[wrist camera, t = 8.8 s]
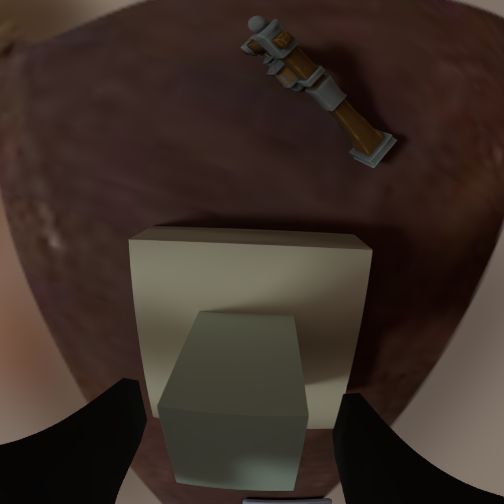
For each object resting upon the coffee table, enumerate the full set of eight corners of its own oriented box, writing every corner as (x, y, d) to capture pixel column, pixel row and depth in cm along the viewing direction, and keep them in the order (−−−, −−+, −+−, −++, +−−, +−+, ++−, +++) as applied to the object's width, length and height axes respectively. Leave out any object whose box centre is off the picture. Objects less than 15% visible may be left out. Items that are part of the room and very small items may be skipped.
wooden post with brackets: (241, 20, 12) (274, -2, 8) (347, 123, 16) (400, 141, 12) (216, 45, 12) (240, 30, 8) (327, 146, 16) (376, 169, 13)
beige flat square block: (327, 394, 18) (335, 428, 15) (166, 385, 18) (153, 416, 15) (353, 234, 15) (372, 250, 12) (152, 226, 15) (128, 239, 13)
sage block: (286, 388, 14) (293, 490, 8) (203, 384, 14) (176, 482, 8) (293, 314, 13) (308, 415, 7) (198, 311, 13) (156, 405, 7)
